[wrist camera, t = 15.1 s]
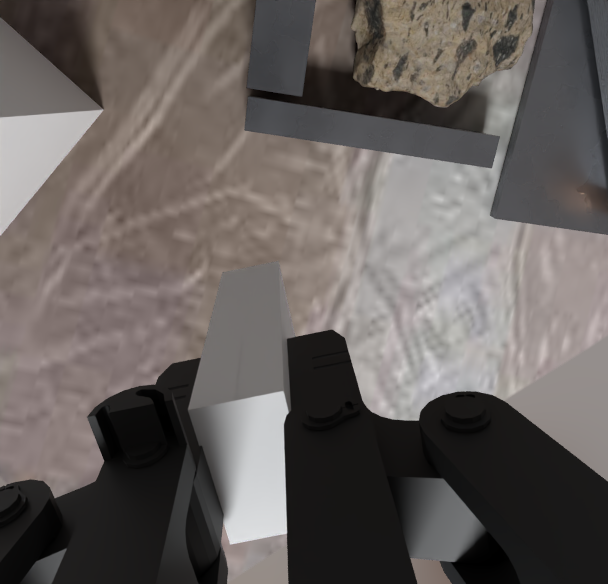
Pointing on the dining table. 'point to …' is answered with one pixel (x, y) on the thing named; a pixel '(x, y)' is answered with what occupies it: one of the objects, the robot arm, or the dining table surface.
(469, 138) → the cracker base
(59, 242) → the dining table surface
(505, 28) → the rock
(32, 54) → the milk
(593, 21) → the lever
